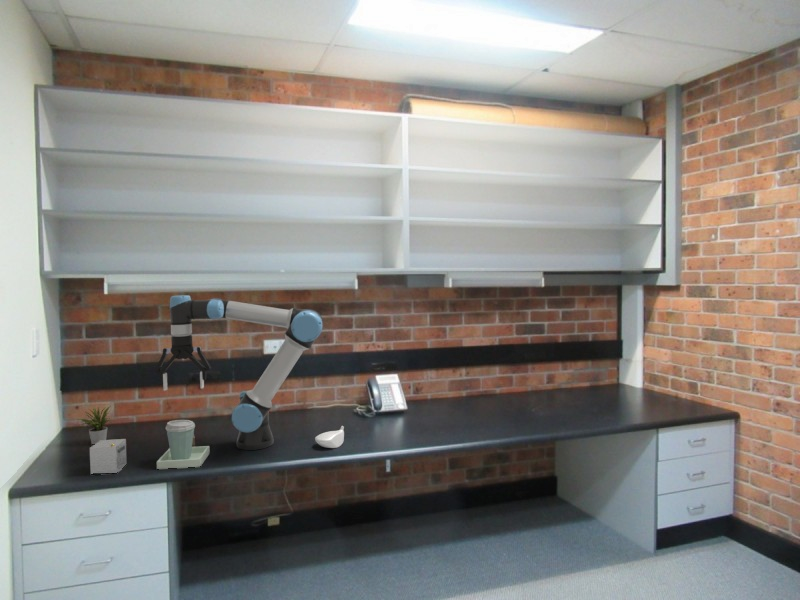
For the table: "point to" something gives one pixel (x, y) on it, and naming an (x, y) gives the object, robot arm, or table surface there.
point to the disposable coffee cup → (180, 438)
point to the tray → (195, 459)
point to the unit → (108, 456)
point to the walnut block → (193, 441)
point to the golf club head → (331, 438)
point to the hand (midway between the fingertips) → (184, 389)
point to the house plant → (97, 425)
